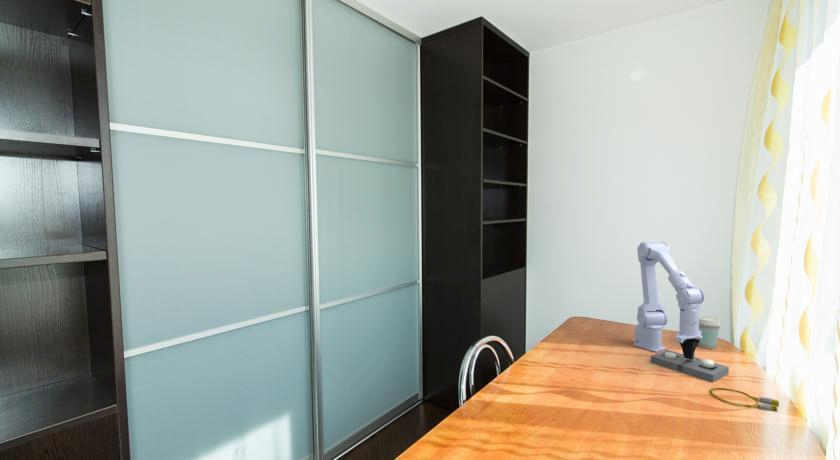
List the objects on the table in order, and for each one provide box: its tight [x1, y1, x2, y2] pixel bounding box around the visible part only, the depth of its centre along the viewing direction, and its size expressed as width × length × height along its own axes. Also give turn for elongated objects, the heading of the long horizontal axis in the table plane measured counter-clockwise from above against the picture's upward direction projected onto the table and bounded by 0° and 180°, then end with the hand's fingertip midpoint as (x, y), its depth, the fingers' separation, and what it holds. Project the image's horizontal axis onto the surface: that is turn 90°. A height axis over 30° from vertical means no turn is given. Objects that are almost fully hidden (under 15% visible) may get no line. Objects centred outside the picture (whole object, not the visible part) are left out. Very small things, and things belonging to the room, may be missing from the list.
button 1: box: [665, 352, 676, 359], centre depth 144 cm, size 4×4×2 cm
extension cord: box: [709, 387, 780, 412], centre depth 116 cm, size 12×16×2 cm
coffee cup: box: [697, 315, 721, 350], centre depth 160 cm, size 8×8×12 cm
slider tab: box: [685, 352, 697, 362], centre depth 140 cm, size 3×2×3 cm
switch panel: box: [650, 349, 730, 383], centre depth 139 cm, size 20×12×2 cm, turn 32°
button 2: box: [700, 357, 715, 368], centre depth 134 cm, size 4×4×2 cm
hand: (688, 358), depth 139 cm, fingers closed
